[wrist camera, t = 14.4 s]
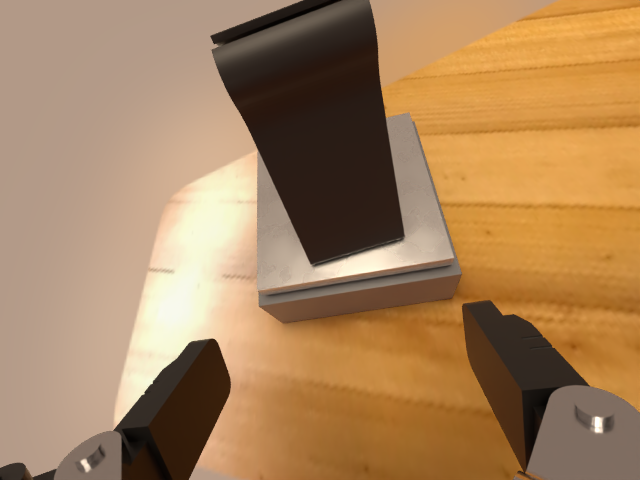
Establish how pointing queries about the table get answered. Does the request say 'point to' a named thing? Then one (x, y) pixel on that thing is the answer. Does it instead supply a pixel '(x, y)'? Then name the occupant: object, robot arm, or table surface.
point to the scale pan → (386, 259)
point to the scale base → (367, 289)
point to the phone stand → (318, 120)
